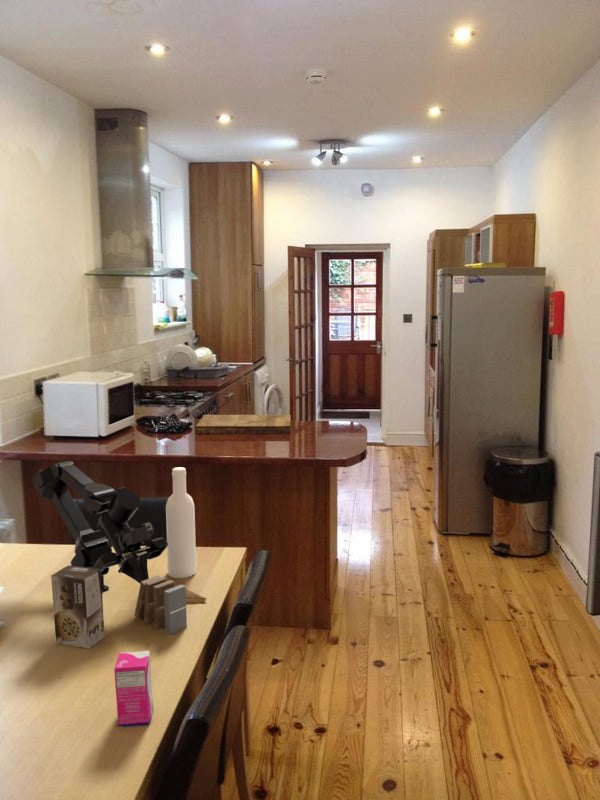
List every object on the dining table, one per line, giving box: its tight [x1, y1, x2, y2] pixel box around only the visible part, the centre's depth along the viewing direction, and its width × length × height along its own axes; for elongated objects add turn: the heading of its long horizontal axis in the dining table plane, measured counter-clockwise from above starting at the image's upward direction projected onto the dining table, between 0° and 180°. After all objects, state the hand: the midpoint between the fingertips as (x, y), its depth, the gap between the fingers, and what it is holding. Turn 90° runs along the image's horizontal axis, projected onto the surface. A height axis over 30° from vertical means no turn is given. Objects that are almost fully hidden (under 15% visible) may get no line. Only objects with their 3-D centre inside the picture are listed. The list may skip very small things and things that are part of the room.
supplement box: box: [113, 650, 154, 727], centre depth 128 cm, size 6×6×12 cm
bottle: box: [165, 466, 197, 579], centre depth 196 cm, size 8×8×30 cm
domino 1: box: [134, 575, 161, 620], centre depth 170 cm, size 2×5×10 cm, turn 139°
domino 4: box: [164, 584, 188, 635], centre depth 163 cm, size 2×5×10 cm, turn 139°
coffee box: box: [50, 564, 105, 649], centre depth 158 cm, size 9×6×16 cm
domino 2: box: [143, 576, 167, 625], centre depth 168 cm, size 2×5×10 cm, turn 139°
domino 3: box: [153, 579, 176, 630], centre depth 166 cm, size 2×5×10 cm, turn 139°
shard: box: [186, 589, 208, 604], centre depth 180 cm, size 11×8×2 cm
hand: (147, 585), depth 169 cm, fingers closed
